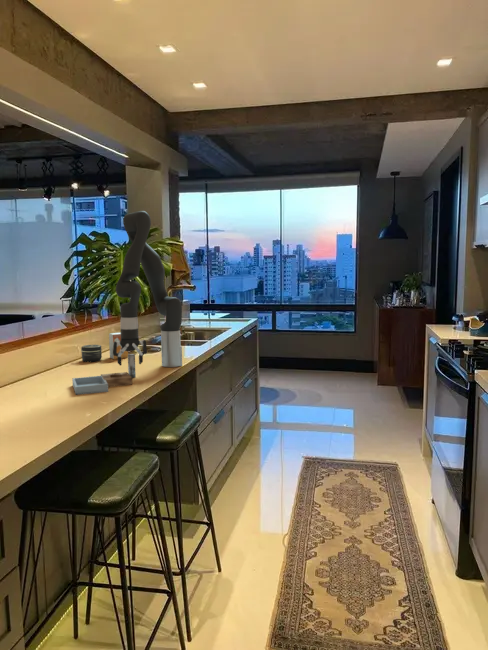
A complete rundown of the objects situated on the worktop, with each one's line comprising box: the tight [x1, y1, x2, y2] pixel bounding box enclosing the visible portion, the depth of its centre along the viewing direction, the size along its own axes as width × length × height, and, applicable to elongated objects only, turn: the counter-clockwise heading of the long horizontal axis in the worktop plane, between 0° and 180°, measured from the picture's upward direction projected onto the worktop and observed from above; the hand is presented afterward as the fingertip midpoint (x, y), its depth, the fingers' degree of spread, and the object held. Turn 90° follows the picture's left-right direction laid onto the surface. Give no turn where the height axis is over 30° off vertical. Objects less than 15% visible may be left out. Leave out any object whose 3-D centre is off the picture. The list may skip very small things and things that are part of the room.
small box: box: [108, 332, 129, 360], centre depth 264 cm, size 8×6×13 cm
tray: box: [72, 375, 109, 396], centre depth 199 cm, size 12×16×3 cm
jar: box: [80, 344, 103, 363], centre depth 257 cm, size 10×10×8 cm
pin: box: [127, 353, 137, 379], centre depth 218 cm, size 3×3×10 cm
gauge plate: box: [100, 371, 133, 388], centre depth 208 cm, size 11×11×3 cm
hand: (130, 364), depth 218 cm, fingers open, 8 cm apart
